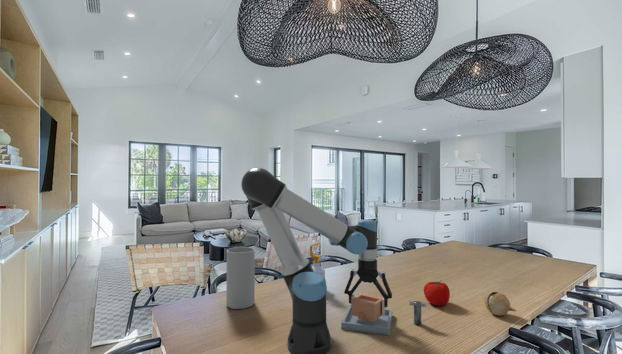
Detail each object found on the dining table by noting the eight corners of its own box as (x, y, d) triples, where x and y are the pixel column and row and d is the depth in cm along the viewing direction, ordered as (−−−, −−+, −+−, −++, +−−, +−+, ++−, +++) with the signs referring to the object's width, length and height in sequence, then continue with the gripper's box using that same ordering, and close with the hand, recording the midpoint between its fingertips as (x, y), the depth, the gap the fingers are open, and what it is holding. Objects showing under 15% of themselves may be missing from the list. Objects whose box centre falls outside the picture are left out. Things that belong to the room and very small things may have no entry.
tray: (389, 335, 114) (389, 328, 114) (341, 328, 119) (341, 322, 119) (392, 315, 131) (392, 309, 131) (349, 310, 136) (349, 304, 136)
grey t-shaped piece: (425, 326, 121) (425, 304, 121) (409, 324, 123) (409, 302, 123) (425, 323, 123) (425, 301, 124) (409, 321, 125) (409, 300, 125)
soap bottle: (323, 293, 156) (323, 244, 156) (305, 292, 158) (305, 244, 158) (326, 287, 165) (326, 241, 165) (309, 286, 167) (309, 240, 167)
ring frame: (384, 312, 126) (384, 297, 126) (372, 323, 116) (372, 307, 117) (362, 306, 132) (362, 292, 132) (349, 316, 122) (348, 301, 122)
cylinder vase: (226, 311, 135) (226, 253, 136) (226, 300, 147) (226, 247, 148) (255, 308, 138) (255, 251, 139) (253, 298, 151) (253, 246, 151)
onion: (489, 288, 140) (518, 290, 126) (496, 309, 138) (527, 314, 124) (473, 293, 137) (501, 297, 123) (480, 316, 135) (510, 321, 121)
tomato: (451, 301, 146) (451, 279, 146) (448, 311, 135) (447, 287, 135) (426, 297, 152) (426, 275, 152) (421, 306, 141) (420, 283, 141)
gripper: (398, 258, 125) (399, 312, 125) (340, 254, 132) (340, 306, 132) (398, 263, 118) (398, 320, 118) (336, 258, 125) (336, 313, 125)
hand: (368, 313), depth 125 cm, fingers closed on ring frame, 11 cm apart
